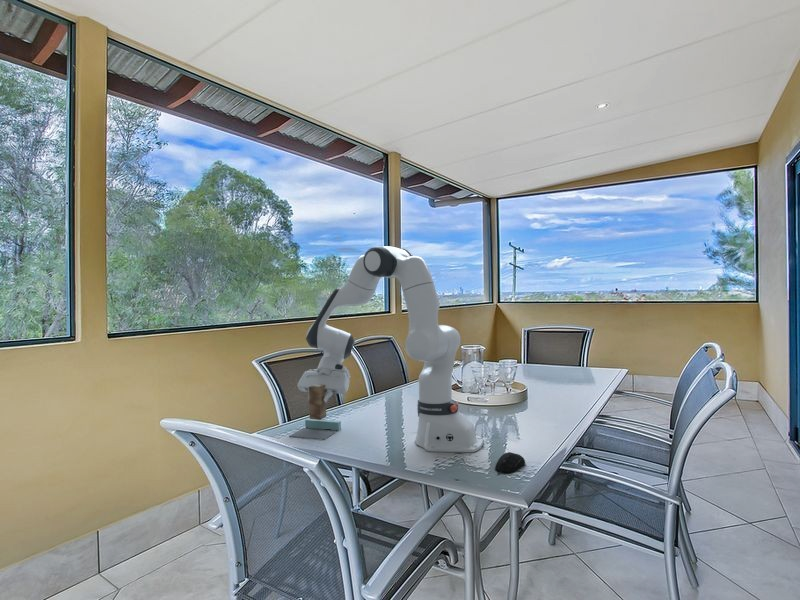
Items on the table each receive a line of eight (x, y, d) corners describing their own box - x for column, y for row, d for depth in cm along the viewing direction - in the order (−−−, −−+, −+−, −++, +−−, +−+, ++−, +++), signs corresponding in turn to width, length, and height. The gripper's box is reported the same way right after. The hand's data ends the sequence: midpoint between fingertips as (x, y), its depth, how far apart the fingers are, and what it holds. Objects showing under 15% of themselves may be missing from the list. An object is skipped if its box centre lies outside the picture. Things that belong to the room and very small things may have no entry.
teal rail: (341, 429, 169) (340, 421, 169) (338, 430, 167) (338, 422, 167) (308, 426, 173) (307, 418, 173) (305, 427, 171) (305, 419, 171)
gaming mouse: (485, 475, 125) (485, 460, 125) (509, 459, 136) (508, 445, 136) (506, 480, 121) (506, 466, 121) (528, 463, 132) (528, 450, 132)
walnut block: (326, 416, 170) (325, 384, 170) (320, 419, 166) (319, 386, 165) (315, 415, 171) (314, 383, 171) (309, 419, 167) (308, 386, 167)
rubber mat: (336, 432, 165) (336, 431, 165) (324, 440, 156) (324, 439, 156) (302, 429, 169) (302, 428, 169) (289, 436, 161) (289, 435, 161)
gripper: (302, 364, 178) (289, 395, 169) (349, 366, 171) (338, 397, 162) (308, 374, 182) (295, 404, 173) (354, 375, 176) (344, 407, 167)
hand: (316, 401), depth 168 cm, fingers closed on walnut block, 4 cm apart
